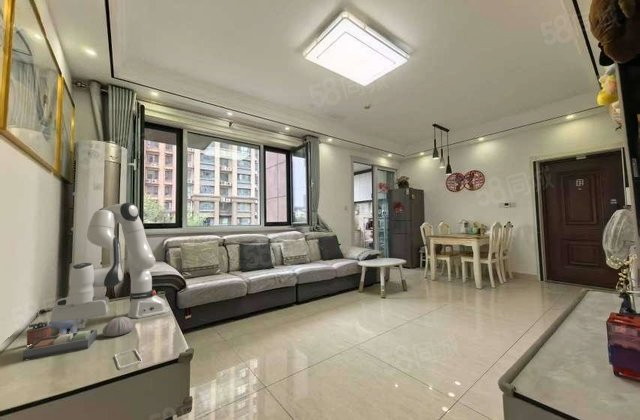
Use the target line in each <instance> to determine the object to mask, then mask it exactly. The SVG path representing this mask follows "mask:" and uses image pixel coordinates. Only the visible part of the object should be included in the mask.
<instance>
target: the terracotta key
mask: <svg viewBox="0 0 640 420" xmlns="http://www.w3.org/2000/svg"><path fill="white" fill-rule="evenodd" d="M54 340H55V338H54V339H48V340H42V341H40V342H39V343H38V344H36V345H35V346H34V347H33V348H39V347H44V346H50V345H53V344H54Z"/></svg>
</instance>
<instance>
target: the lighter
mask: <svg viewBox="0 0 640 420" xmlns="http://www.w3.org/2000/svg"><path fill="white" fill-rule="evenodd" d="M47 324H49V321H47V320H46V321H44V322H43V321H39V322H35V323H31V324H29V325H28V328H30V329H27V330H26V345H30V344H33V343H35V342H36V341H37V340H39V339H40V338H46V337H51V329H52V328H51V325H47ZM50 328H51V329H50Z"/></svg>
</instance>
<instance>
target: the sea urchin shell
mask: <svg viewBox="0 0 640 420" xmlns="http://www.w3.org/2000/svg"><path fill="white" fill-rule="evenodd" d="M135 325H136V324H135V321H134V320H132V318H130V317H128V316H117V317H115V318H113V319H111V320H109V321H108V322H107V324H105V326H104V327H103V329H102V335H103V336H104V337H108V338H110V337H118V336H119V337H120V336H122V335H125V334H128V333H129V332H131V331H132V330H134V328H135Z"/></svg>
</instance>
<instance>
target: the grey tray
mask: <svg viewBox="0 0 640 420" xmlns="http://www.w3.org/2000/svg"><path fill="white" fill-rule="evenodd" d="M78 332H83V331H81V330H80V331H77V332H74V333H73V337H74V336H75V335H76V334H77V333H78ZM61 335H64V334H61ZM59 336H60V335H58V334H56V335H53V336H50V337H46V338H40V339H39V340H37V341H36V342H35V343H33V344H32V345H31V346H29V347H26V348H25V349H24V350H23V352H22V361H23V360H25V361H27V360H26V359H30V360H34V359H33V358H35V359H39V358H45V357H52V356H56V355H61V354H66V353H71V352H77V351H81V350H87V349H89V348H90V347H91V345H92V344H93V343H94V342H95V341H96V339H97V338H98V328H96V329H91V334H90V335H89V336H88V337H87V339H84V340H79V341H73V338H72V339H71V340H70V341H69V342H67V343H62V344H56V345H54V344H53V345H50V346H44V347H39V348H33V347H34V346H35V345H36V344H38V343H39V342H40V341H42V340H48V339H54V338H55V339H56V338H58V337H59Z"/></svg>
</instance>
